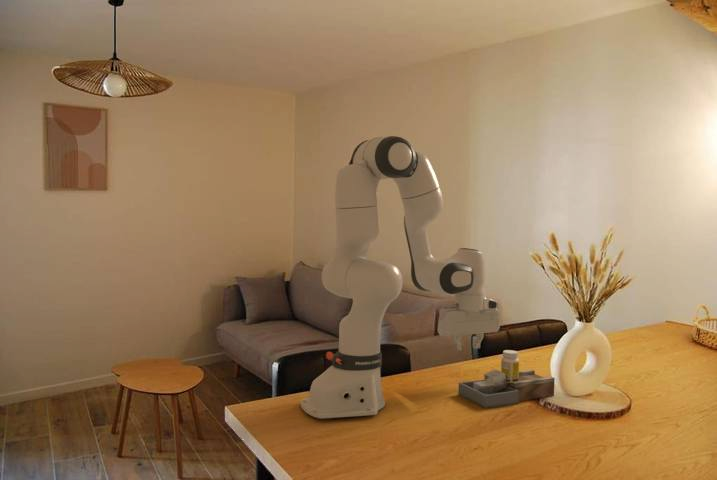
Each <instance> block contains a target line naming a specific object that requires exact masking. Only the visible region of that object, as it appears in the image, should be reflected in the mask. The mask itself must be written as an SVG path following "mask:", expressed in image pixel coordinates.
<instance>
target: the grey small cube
mask: <svg viewBox="0 0 717 480" xmlns="http://www.w3.org/2000/svg"><path fill="white" fill-rule="evenodd" d="M483 377H484V379H485V381H487V382H489V383H491V384H494V391H495V392H497V391H499V390H501V389H503V388H505V387H507V383H506V378H505V373H503V372H501V370H498V369H495V368H494V369H493V370H490V371H488V372H486V373H484V374H483Z"/></svg>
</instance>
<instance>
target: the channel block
mask: <svg viewBox="0 0 717 480" xmlns="http://www.w3.org/2000/svg"><path fill="white" fill-rule="evenodd" d="M535 371H536V370H534V369H527V370H519V381H517V382H512V384H511V383H507V386H509V387H511V388H513V389H516V390H518V391H519V402H520V401H521V402H522V401H527V400H534V399H540V397H541V398H545V397H544V396H548V397H553V396H555V377H553V376H548V377H544V376H541V375H538V374H536V372H535Z"/></svg>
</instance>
